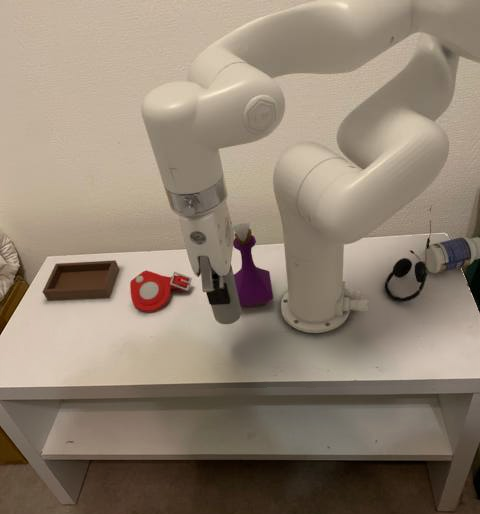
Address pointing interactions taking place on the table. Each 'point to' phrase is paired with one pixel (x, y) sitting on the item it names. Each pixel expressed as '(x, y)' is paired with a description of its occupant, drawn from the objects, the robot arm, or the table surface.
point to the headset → (403, 269)
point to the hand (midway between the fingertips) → (221, 289)
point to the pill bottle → (452, 254)
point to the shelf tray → (81, 280)
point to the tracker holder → (155, 289)
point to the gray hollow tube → (228, 311)
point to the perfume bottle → (250, 272)
